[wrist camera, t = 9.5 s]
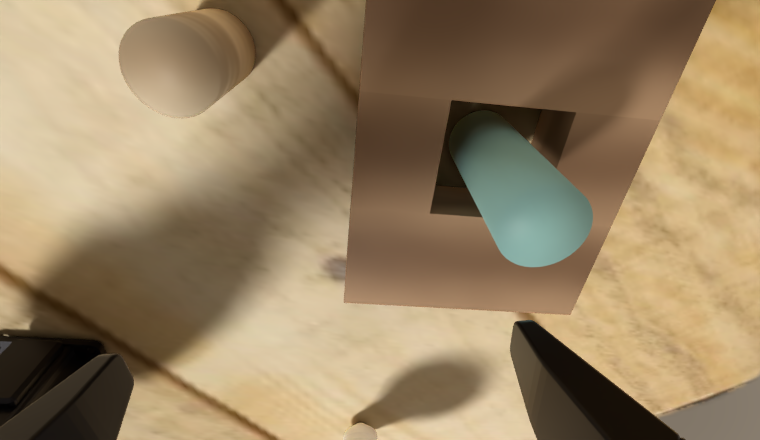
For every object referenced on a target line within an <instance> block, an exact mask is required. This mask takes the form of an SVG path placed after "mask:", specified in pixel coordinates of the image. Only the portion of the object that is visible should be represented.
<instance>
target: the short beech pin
mask: <svg viewBox="0 0 760 440" xmlns="http://www.w3.org/2000/svg"><path fill="white" fill-rule="evenodd" d="M255 57H256V51H255V45H254V41H253V38H252V36H251V34H250V32H249V30H248V29H247V27H246V26H245V25H244V24H243V23H242V22H241V21H240V20H239V19H238V18H237V17H236V16H234V15H233V14H231V13H229V12H227V11H225V10H221V9H217V8H207V9H201V10H195V11H189V12H183V13H177V14H171V15H165V16H159V17H153V18H147V19H144V20H141V21H139V22H137V23H135V24H134V25H132V26H131V27H130V28H129V29H128V30H127V31H126V33H125V34H124V36H123V38H122V40H121V43H120V47H119V63H120V68H121V72H122V75H123V77H124V79H125V81H126V83H127V85H128V87H129V88H130V89H131V91H132V92H133V93H134V95H135V96H136V97H137V98H138V99H139V100H140V101H141V102H142V103H144V104H145V105H146V106H147V107H149V108H151V109H152V110H154V111H156V112H158V113H160V114H162V115H165V116H169V117H174V118H189V117H193V116H196V115H199V114H201V113H202V112H204V111H205V110H207V109H208V108H209V107H210V106H212V105H213V104H214V103H215V102H216V101H218V100H219V99H220V98H221V97H223V96H224V95H225V94H226V93H228V92H229V91H230V90H231V89H233V88H234V87H235V86H236V85H237V84H239V83H240V82H241V81H242V80H244V79H245V78H246V77H247V76H248V75H249V74H250V72H251V71H252V69H253V66H254V63H255Z"/></svg>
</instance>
